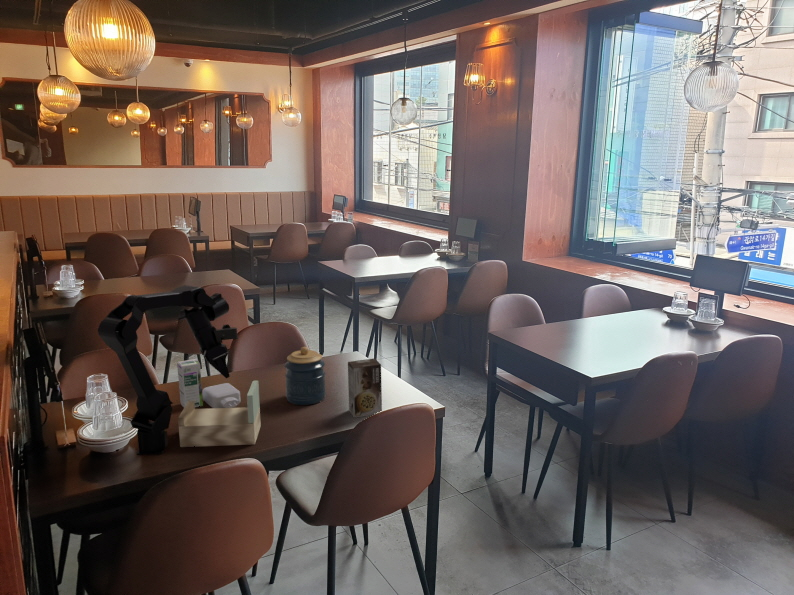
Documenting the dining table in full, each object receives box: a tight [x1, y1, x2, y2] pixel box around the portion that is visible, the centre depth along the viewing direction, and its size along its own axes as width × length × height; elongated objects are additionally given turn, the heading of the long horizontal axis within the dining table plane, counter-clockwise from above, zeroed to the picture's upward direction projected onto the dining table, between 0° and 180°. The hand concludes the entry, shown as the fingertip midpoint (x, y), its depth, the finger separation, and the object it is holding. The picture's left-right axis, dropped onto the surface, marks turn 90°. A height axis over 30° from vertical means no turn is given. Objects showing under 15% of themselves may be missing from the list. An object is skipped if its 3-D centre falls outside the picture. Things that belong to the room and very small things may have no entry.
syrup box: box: [176, 358, 204, 409], centre depth 194 cm, size 6×6×14 cm
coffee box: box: [347, 358, 383, 418], centre depth 189 cm, size 9×6×16 cm
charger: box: [202, 382, 241, 408], centre depth 195 cm, size 5×9×15 cm
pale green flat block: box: [246, 380, 261, 423], centre depth 172 cm, size 2×12×8 cm, turn 5°
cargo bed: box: [177, 401, 262, 448], centre depth 172 cm, size 20×12×8 cm, turn 95°
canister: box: [284, 346, 327, 406], centre depth 200 cm, size 13×13×18 cm
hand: (225, 375), depth 178 cm, fingers open, 9 cm apart
